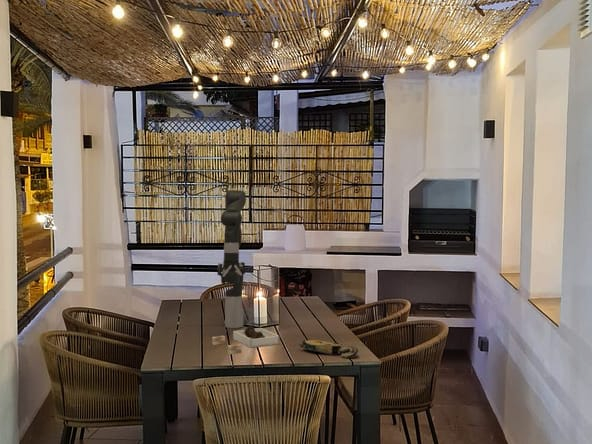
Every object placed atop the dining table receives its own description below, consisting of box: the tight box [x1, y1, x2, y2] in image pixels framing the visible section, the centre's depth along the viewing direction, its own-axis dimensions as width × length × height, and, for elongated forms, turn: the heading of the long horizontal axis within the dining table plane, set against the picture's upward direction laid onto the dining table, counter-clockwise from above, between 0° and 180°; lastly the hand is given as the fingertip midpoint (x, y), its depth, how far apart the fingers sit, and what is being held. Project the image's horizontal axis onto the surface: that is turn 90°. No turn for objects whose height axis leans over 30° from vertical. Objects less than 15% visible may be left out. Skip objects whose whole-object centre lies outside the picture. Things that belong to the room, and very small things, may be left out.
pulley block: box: [295, 339, 359, 359], centre depth 282 cm, size 14×6×30 cm
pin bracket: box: [211, 335, 242, 355], centre depth 288 cm, size 6×21×4 cm, turn 30°
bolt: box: [244, 326, 265, 339], centre depth 302 cm, size 6×5×15 cm
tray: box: [232, 327, 280, 349], centre depth 302 cm, size 16×21×4 cm
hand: (231, 283), depth 307 cm, fingers open, 8 cm apart
